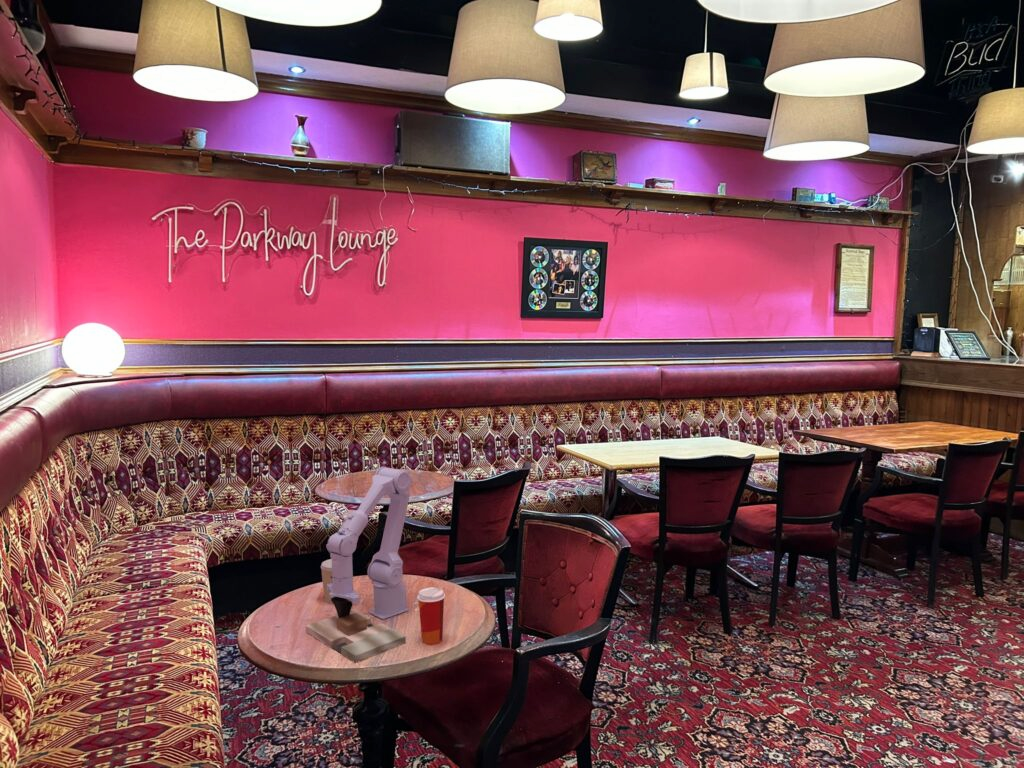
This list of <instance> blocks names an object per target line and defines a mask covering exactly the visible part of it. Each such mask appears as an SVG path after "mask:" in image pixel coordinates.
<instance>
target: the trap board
mask: <svg viewBox="0 0 1024 768" xmlns="http://www.w3.org/2000/svg"><path fill="white" fill-rule="evenodd" d="M353 613H356V614H358V615H360V616H362V617H364V618H366V619H367V629H366V630H364V631H361V632H358V633H355V634H353V635H350V636H348V635H346V634H344V633H342V632H341V631H339V630H337V619H338V618H339V617H338V614H336V615H333V616H331V617H327V618H325V619H321V620H319V621H316V622H312V623H309V624H306V625H305V631H306V632H307V633H306V632H305V633H306V634H308V633H309V634H308V635H310V634H311V635H312V636H311V635H310V636H311V637H313V638H314V637H315V638H314V639H316V638H317V639H316V640H318V641H319V640H320V642H321V643H323V644H324V645H326V646H327V645H328V646H327V647H329V648H331V649H333V650H334V651H335V650H336V652H338V653H339V654H340V655H342V656H343V657H345V658H347V659H348V658H349V660H350V659H351V660H350V661H352V662H353V661H354V663H355V664H357V663H359V662H358V661H360V662H361V660H362V661H364V659H365V660H367V659H369V657H370V658H372V657H374V655H375V656H377V655H379V653H380V654H382V653H385V652H387V651H389V649H390V650H393V649H395V648H396V647H400V646H402V645H406V642H407V641H406V640H407V637H406V635H404V634H402V633H400V632H398V631H397V630H395V629H393V628H391V627H389V626H387V625H385V624H383V623H381V622H380V623H377V624H373V623H372V618H371V617H370V616H369V615H366V614H364V613H362V612H360V611H359V610H357V609H354V608H353V609H351V611H350V614H353ZM399 645H400V646H399ZM384 651H385V652H384ZM371 656H372V657H371ZM366 658H367V659H366ZM356 662H357V663H356Z"/></svg>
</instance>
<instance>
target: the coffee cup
mask: <svg viewBox="0 0 1024 768" xmlns="http://www.w3.org/2000/svg"><path fill="white" fill-rule="evenodd" d="M320 569H321V571H320V572H321V580H322V589H323V596H324V597H323V599H324V602H325V603H326V604H331V605H334V604H333V602H332V601H331V598H333V597H331V596H329V593H331V591H330V592H328V591H327V584H331V583H332V559H331V558H330V559H326V560H324V561H322V562H321V565H320Z"/></svg>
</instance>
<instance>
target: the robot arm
mask: <svg viewBox="0 0 1024 768" xmlns="http://www.w3.org/2000/svg"><path fill="white" fill-rule="evenodd" d="M371 479H372V484H371V486H370V487H369V489H368V491H367V493H366V494H365V496H364V498H363V500H362V501H361V503H360V505H359V507H358V509H356V510H352V511H351V512H350V513H348V515H347V516H346V519H345V520H344V522H343V524H342V525H341V527H340V528H339V529H338V531H337V532H335V533H333V534H332V535H331V536H330V537H329V538H328V540H327V544H325V545H326V549H327V551H328V553H329V556H330V559H332V583H331V584H327V591H328V592H330V591H331V593H329V596H331V597H333V598H331V601H332V602H333V604H332V605H333V606H334V608H335V611H336V613H337V614H336V615H338V617H339V618H341V617H344V616H347V615H350V611H351V610H352V608H353V606H354V605H355V606H356V605H358V604H361V596H360V595H358V594H357V592H356V590H355V589H354V574H353V573H354V571H353V567H354V566H353V553H354V552H355V551H356V549H357V546H358V545H357V543H358V542H359V541H358V540H359V536H360V535H361V534H362V532H363V531H364V529H365V528H366V526H367V525H368V522H369V518H368V516H369V515H370V514H371V512H372V511H373V510H374V508H375V507H376V506H377V504H378V503H379V502H381V501H380V500H381V499H382V498H383V497H385V496H387V497H389V499H390V501H389V506H388V509H387V510H388V511H387V515H386V520H385V524H384V529H383V535H382V539H381V543H380V548H379V551H377V552H376V553H374V555H373V556H372V558H371V562H370V563H369V564H368V567H367V573H366V574H367V577H368V578H369V579H370V580H371V584H373V586H372V587H373V591H372V592H373V608H371V609H369V610H367V611H368V614H371V615H373V616H375V617H377V618H379V619H381V620H385V619H388V618H391V617H394V616H397V615H400V614H402V613H405V612H408V611H409V609H408V608H407V606H408V605H407V588H406V585H405V583H404V582H403V580H402V579H403V573H404V572H403V565H404V560H403V559H402V558H401V557H400V555H399V549H400V545H401V541H402V534H403V529H404V525H405V520H406V516H407V510H408V507H409V500H410V495H411V494H410V491H411V485H412V480H413V479H412V476H411V475H410V473H409V472H408V471H407V470H405V469H397V468H391V467H387V466H381V467H379V468H378V469H377V470H376V472H375V474H374V475H373V476H372V477H371Z"/></svg>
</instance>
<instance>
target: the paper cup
mask: <svg viewBox="0 0 1024 768" xmlns="http://www.w3.org/2000/svg"><path fill="white" fill-rule="evenodd" d="M445 597H446V594H445V592H444V590H443V589H441V588H439V587H438V588H437V587H432V586H431V587H425V588H422V589H421V590H419V591H418V595H417V601H418V608H419V610H418V611H419V622H420V632H421V633H420V635H421V642H422V644H423V645H427V646H435V645H439V644H440V643H442V642H443V635H444V634H443V631H444V630H443V629H444V610H445V609H444V607H445Z"/></svg>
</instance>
